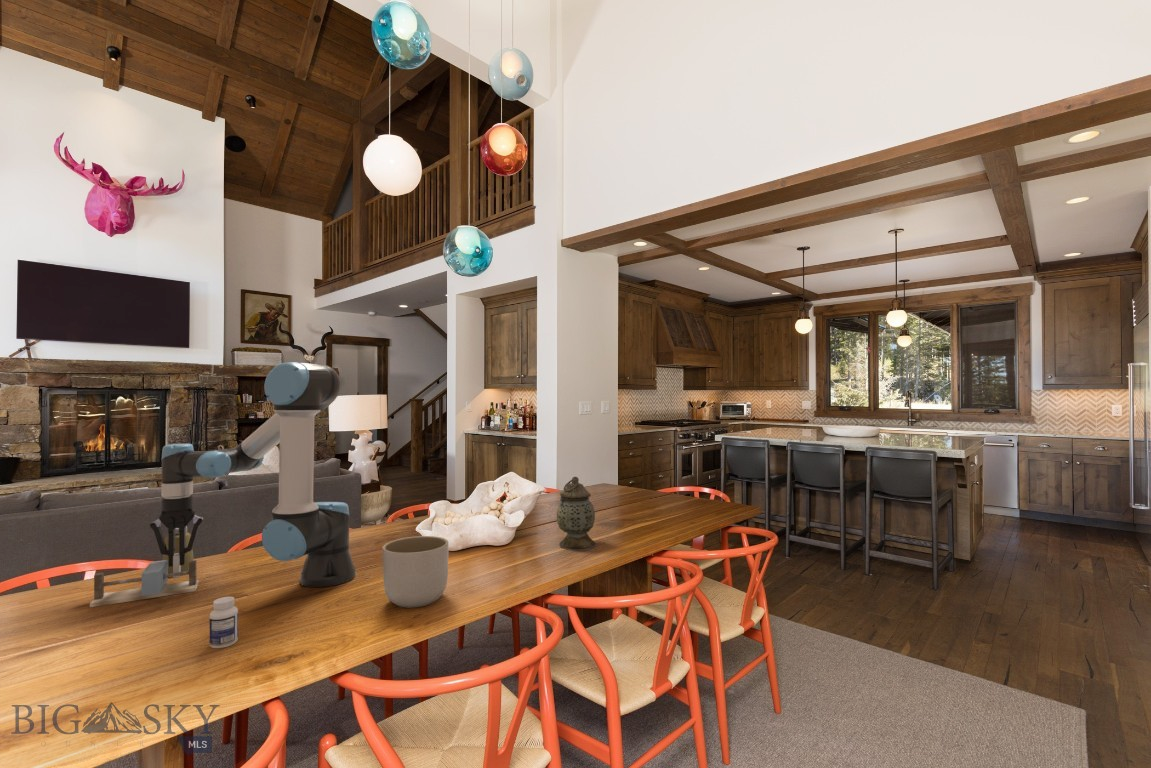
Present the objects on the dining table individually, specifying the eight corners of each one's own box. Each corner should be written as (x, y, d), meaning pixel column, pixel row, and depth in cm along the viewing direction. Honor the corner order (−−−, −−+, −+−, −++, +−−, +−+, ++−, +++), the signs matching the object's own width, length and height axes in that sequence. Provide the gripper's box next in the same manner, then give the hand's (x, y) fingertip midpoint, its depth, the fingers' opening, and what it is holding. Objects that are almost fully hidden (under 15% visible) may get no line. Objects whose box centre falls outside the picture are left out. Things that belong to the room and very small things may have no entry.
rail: (198, 582, 162) (198, 557, 162) (195, 591, 155) (195, 564, 155) (98, 597, 150) (98, 570, 151) (89, 607, 143) (89, 578, 144)
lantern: (596, 550, 190) (595, 479, 191) (556, 551, 190) (555, 479, 191) (595, 540, 204) (594, 473, 205) (557, 540, 204) (557, 474, 205)
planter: (388, 618, 134) (387, 556, 134) (378, 596, 149) (378, 540, 149) (456, 605, 141) (455, 547, 142) (440, 585, 157) (440, 533, 157)
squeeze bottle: (176, 578, 166) (177, 519, 167) (155, 576, 168) (155, 518, 168) (200, 569, 174) (200, 513, 175) (179, 568, 176) (179, 512, 176)
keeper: (167, 580, 160) (167, 560, 160) (159, 593, 149) (160, 571, 149) (150, 582, 158) (150, 562, 158) (141, 595, 147) (141, 573, 147)
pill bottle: (218, 638, 124) (218, 595, 124) (242, 637, 124) (243, 594, 124) (204, 649, 118) (204, 604, 118) (229, 648, 119) (230, 603, 119)
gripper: (205, 492, 167) (205, 569, 166) (152, 496, 160) (151, 576, 160) (202, 496, 160) (201, 576, 159) (147, 500, 154) (146, 584, 153)
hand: (176, 576), depth 160 cm, fingers closed
